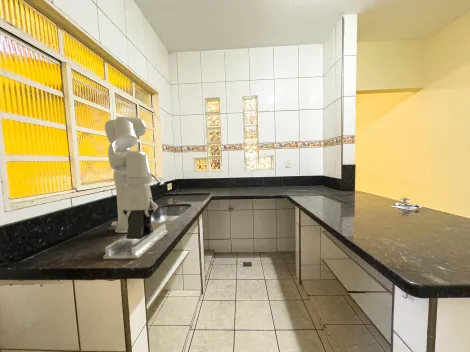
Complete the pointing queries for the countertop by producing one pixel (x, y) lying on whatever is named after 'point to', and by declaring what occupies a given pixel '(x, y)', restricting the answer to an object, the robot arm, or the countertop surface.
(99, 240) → the countertop surface
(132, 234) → the phone stand
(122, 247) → the aluminium track
